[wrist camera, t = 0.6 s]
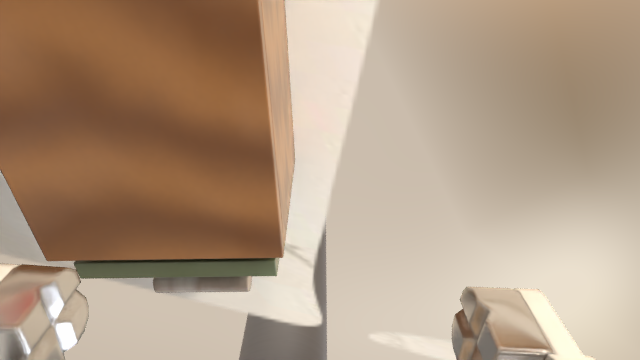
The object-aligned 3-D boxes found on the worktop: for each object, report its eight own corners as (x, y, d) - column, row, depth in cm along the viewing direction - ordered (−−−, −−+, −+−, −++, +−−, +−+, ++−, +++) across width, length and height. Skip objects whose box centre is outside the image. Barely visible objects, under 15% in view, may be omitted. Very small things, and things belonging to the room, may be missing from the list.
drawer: (291, 236, 33) (282, 327, 26) (152, 238, 33) (103, 329, 26) (272, -3, 24) (249, 30, 16) (79, 2, 24) (-33, 37, 16)
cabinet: (295, 160, 30) (283, 258, 21) (127, 163, 31) (46, 261, 22) (280, -70, 23) (251, -67, 14) (56, -63, 23) (-116, -56, 14)
